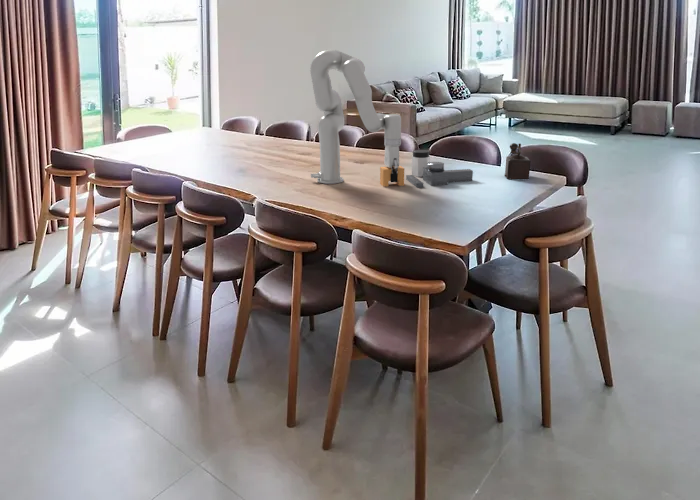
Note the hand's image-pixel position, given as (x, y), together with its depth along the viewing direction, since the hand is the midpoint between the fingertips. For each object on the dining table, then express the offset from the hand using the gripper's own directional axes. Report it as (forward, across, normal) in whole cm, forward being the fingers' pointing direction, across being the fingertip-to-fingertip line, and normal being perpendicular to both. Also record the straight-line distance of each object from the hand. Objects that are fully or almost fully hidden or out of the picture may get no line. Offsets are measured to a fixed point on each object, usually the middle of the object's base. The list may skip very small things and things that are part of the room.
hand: (392, 180), depth 295 cm
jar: (+2, -16, +19) cm, 25 cm away
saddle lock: (+2, 0, 0) cm, 2 cm away
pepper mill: (+2, +1, +62) cm, 62 cm away
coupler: (+2, 0, +24) cm, 24 cm away
